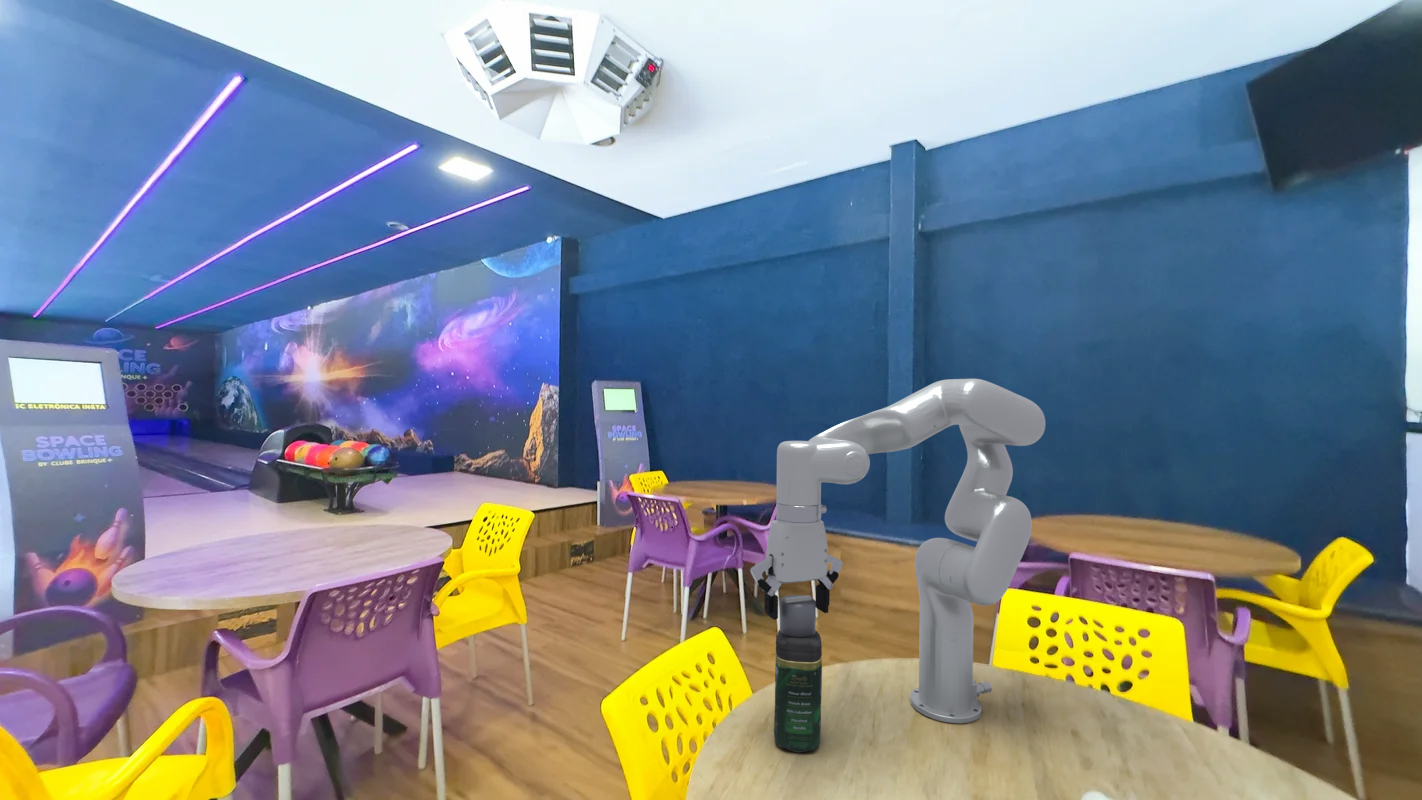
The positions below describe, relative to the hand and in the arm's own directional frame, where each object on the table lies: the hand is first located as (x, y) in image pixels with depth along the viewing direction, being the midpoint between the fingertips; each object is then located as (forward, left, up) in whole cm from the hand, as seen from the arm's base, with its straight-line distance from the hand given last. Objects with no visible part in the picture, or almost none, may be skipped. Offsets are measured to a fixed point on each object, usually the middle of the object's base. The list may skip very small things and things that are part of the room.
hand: (797, 613), depth 104 cm
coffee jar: (0, 0, -22) cm, 22 cm away
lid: (0, 0, -3) cm, 3 cm away
